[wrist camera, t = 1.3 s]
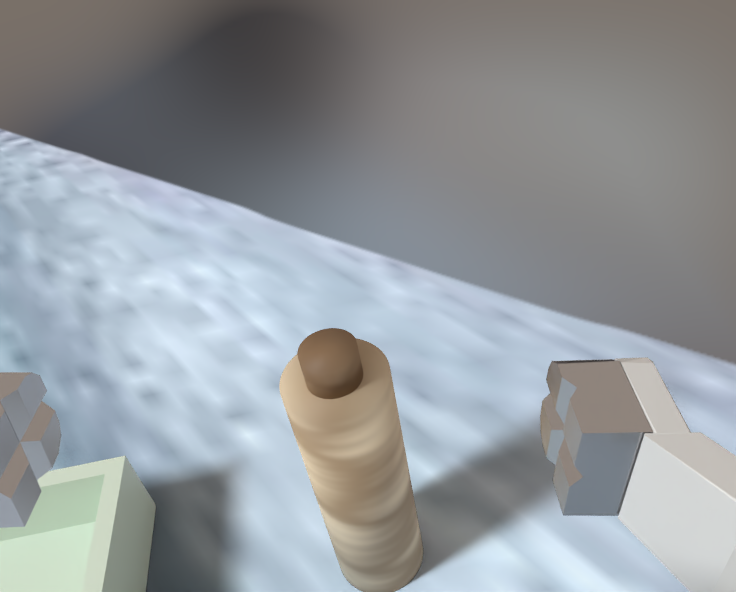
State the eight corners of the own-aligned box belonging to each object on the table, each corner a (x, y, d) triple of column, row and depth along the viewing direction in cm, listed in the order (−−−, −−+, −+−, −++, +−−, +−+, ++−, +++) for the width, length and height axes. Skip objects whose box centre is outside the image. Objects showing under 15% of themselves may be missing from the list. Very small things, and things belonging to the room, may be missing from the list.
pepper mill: (414, 507, 39) (376, 301, 29) (431, 584, 35) (393, 379, 25) (335, 523, 39) (268, 322, 29) (343, 602, 35) (271, 404, 25)
